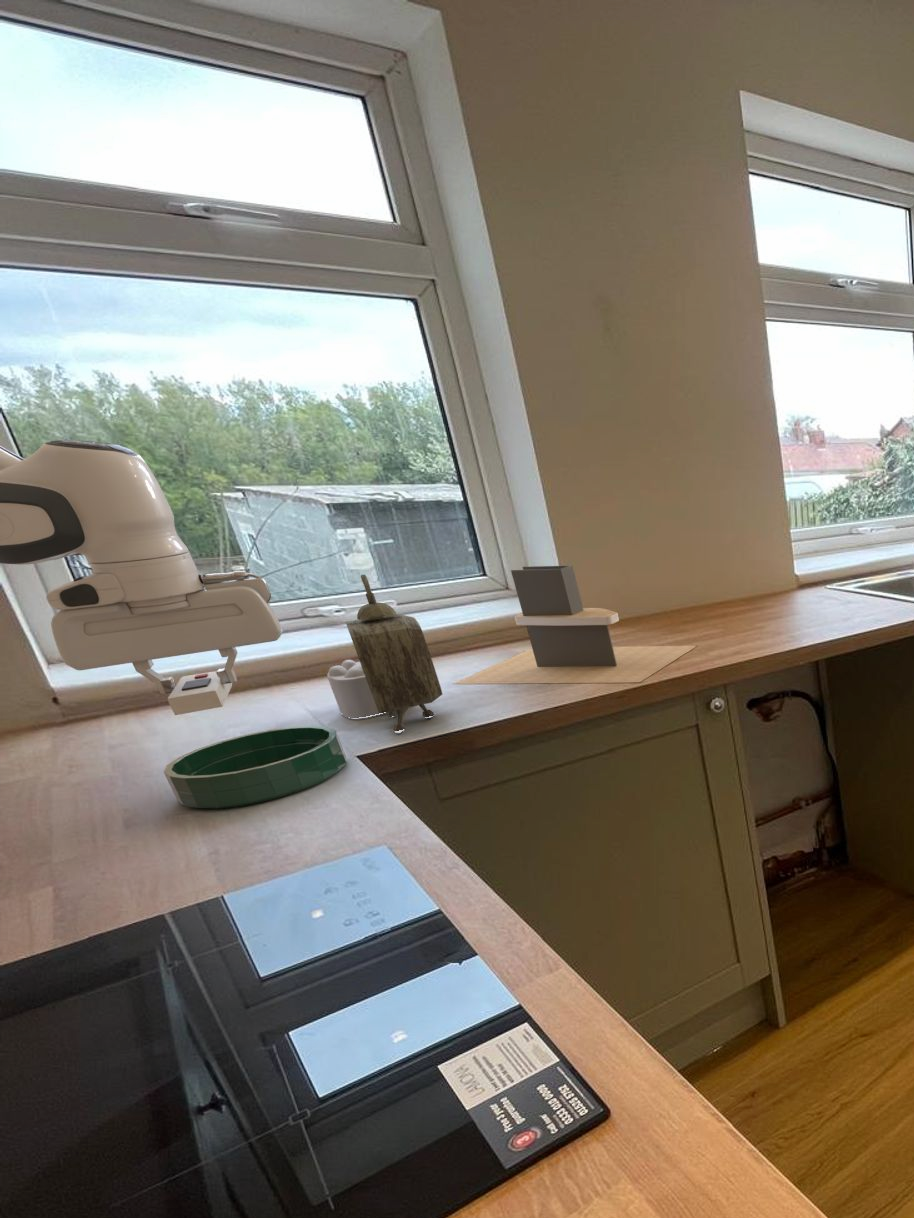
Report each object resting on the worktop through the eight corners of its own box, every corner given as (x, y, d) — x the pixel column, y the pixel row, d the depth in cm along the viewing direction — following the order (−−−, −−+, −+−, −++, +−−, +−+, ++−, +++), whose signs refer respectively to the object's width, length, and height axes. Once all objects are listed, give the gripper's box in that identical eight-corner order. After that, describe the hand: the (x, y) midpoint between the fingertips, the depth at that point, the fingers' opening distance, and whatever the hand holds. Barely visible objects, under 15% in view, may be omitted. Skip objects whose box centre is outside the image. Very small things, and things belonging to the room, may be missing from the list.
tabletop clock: (380, 717, 141) (328, 573, 131) (440, 705, 146) (395, 565, 136) (388, 740, 130) (332, 585, 120) (453, 725, 136) (405, 575, 126)
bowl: (171, 825, 105) (154, 790, 103) (189, 780, 118) (174, 748, 116) (348, 783, 115) (336, 751, 113) (346, 746, 128) (335, 716, 127)
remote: (222, 706, 102) (214, 688, 101) (174, 715, 100) (165, 696, 99) (232, 684, 111) (225, 667, 110) (188, 692, 109) (180, 674, 108)
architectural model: (697, 645, 177) (679, 554, 169) (639, 682, 154) (616, 578, 146) (533, 647, 181) (508, 558, 173) (452, 683, 157) (420, 582, 150)
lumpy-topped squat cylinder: (351, 722, 139) (333, 674, 135) (332, 707, 147) (315, 661, 143) (421, 705, 146) (405, 659, 142) (399, 692, 154) (384, 648, 150)
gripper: (262, 565, 107) (302, 665, 113) (40, 590, 96) (96, 699, 102) (258, 571, 103) (300, 675, 108) (25, 598, 92) (84, 712, 97)
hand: (199, 687), depth 105 cm, fingers closed on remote, 4 cm apart
